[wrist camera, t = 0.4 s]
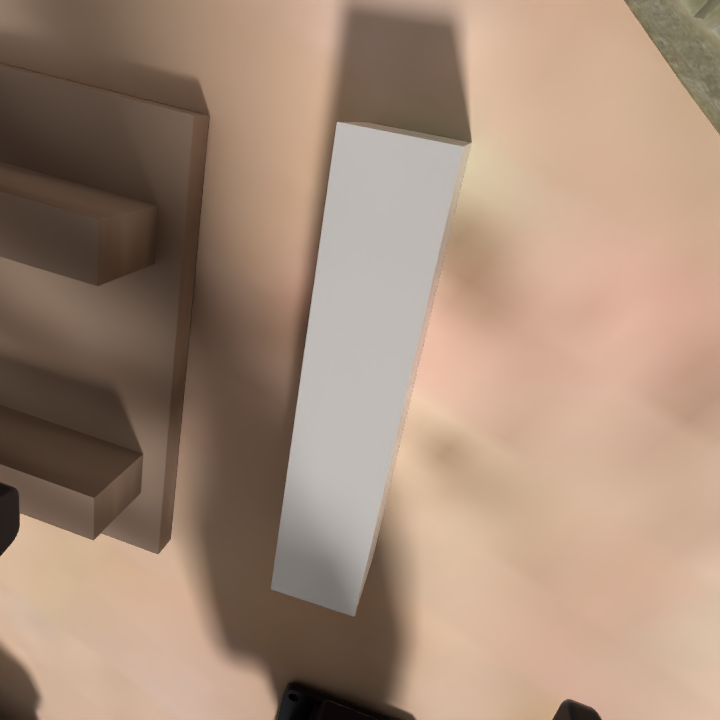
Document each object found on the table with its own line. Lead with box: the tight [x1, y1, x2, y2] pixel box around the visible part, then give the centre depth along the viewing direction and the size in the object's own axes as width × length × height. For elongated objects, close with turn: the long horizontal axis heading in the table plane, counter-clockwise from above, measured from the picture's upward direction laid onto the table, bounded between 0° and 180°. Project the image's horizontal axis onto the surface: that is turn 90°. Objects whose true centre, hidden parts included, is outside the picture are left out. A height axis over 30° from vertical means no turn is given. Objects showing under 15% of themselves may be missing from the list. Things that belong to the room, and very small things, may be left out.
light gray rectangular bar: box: [271, 122, 472, 617], centre depth 19 cm, size 16×3×4 cm, turn 170°
